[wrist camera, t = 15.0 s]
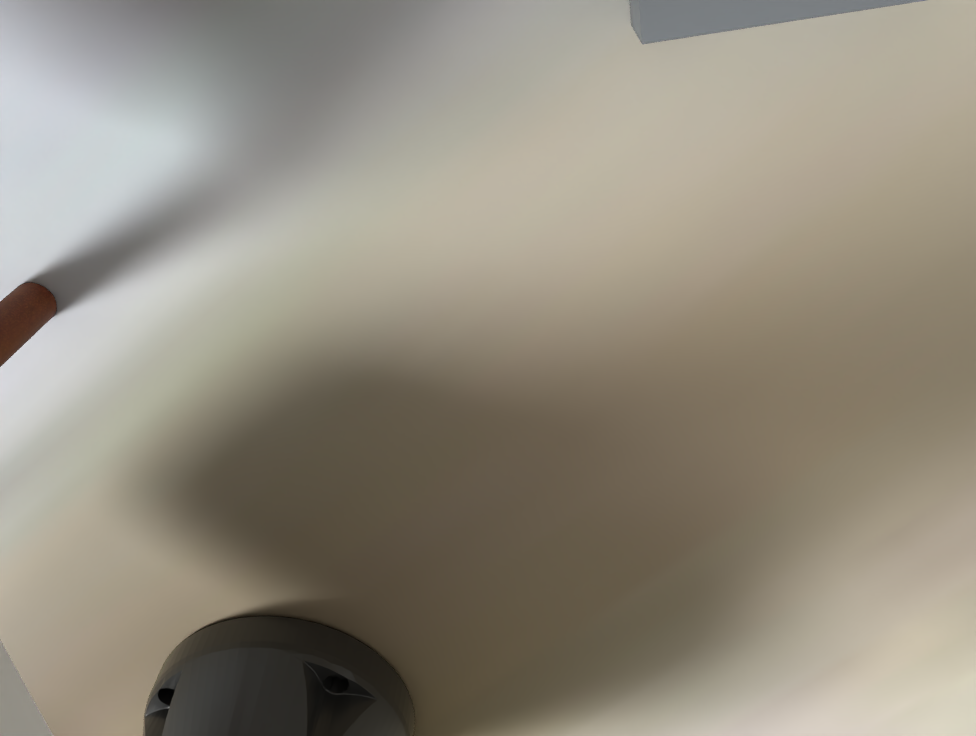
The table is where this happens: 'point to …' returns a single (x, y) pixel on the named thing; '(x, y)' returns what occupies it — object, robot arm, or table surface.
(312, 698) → the robot arm
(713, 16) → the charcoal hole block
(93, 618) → the table surface
